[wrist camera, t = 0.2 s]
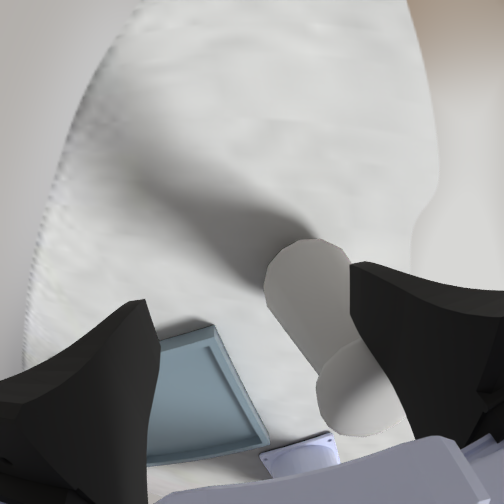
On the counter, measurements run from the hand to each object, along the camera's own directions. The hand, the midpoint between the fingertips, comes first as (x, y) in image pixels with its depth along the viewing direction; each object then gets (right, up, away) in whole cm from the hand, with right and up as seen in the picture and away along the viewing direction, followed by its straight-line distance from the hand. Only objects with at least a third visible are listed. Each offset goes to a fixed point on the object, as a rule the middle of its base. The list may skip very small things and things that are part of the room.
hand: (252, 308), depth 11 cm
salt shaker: (+3, +1, +11) cm, 12 cm away
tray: (-7, -12, +14) cm, 20 cm away
